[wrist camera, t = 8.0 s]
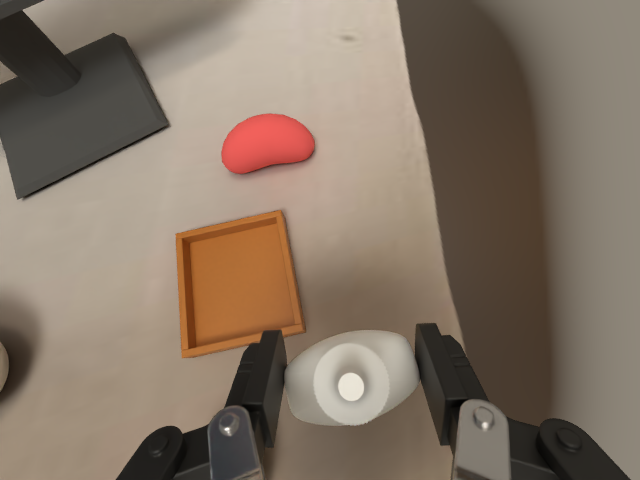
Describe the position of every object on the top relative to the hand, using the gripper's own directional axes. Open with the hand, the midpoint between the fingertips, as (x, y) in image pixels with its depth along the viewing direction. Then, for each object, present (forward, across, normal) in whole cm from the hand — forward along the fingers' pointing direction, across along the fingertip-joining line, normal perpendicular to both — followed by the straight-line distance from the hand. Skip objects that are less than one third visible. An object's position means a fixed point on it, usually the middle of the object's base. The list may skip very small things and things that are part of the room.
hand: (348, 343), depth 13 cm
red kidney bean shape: (+24, +7, -4) cm, 25 cm away
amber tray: (+14, +10, +6) cm, 18 cm away
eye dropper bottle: (+4, 0, +6) cm, 8 cm away
